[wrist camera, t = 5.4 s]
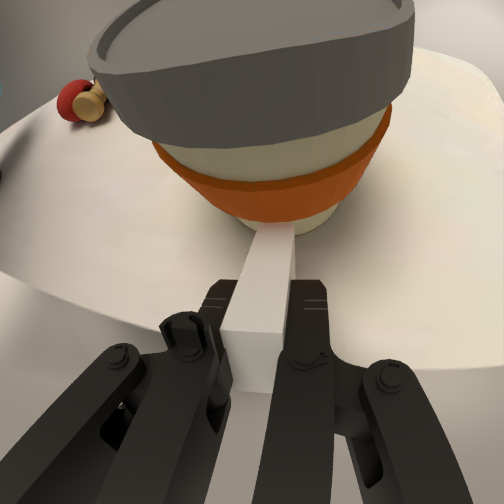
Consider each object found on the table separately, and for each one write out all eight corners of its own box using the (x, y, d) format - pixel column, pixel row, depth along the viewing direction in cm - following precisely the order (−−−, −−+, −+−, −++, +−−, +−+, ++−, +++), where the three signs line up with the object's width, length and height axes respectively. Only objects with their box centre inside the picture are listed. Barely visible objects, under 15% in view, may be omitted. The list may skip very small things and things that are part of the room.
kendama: (191, 75, 29) (83, 92, 30) (178, 42, 22) (61, 70, 24) (177, 124, 28) (65, 135, 29) (157, 92, 22) (39, 116, 23)
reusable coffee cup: (348, 284, 17) (463, 122, 3) (179, 237, 20) (28, 107, 6) (374, 137, 20) (402, -29, 6) (235, 113, 23) (180, -29, 9)
